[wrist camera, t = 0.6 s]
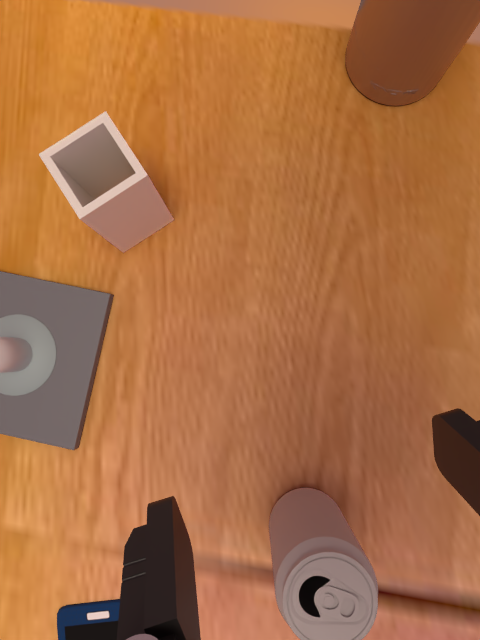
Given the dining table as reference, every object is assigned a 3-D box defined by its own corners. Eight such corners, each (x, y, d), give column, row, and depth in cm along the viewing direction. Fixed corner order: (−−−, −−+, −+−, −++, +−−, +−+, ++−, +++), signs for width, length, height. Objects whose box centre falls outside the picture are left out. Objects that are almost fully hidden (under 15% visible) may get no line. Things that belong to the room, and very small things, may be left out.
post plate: (-32, 265, 40) (-92, 247, 33) (113, 295, 39) (83, 282, 32) (-70, 414, 39) (-140, 427, 32) (78, 447, 38) (39, 468, 31)
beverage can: (280, 475, 38) (292, 532, 26) (351, 497, 37) (397, 565, 25) (259, 547, 37) (262, 639, 25) (331, 570, 37) (368, 674, 25)
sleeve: (92, 203, 40) (38, 154, 30) (142, 171, 40) (105, 111, 30) (123, 252, 40) (79, 219, 30) (174, 219, 40) (147, 175, 30)
